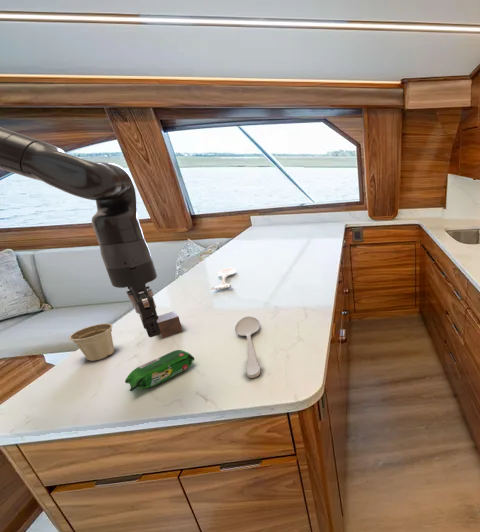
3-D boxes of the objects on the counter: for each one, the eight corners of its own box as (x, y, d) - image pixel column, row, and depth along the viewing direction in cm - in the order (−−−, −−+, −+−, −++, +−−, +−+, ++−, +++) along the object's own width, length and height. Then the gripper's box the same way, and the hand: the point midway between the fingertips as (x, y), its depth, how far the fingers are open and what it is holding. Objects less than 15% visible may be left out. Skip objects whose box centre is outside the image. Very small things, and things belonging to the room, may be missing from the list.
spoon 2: (211, 294, 135) (209, 287, 134) (219, 273, 163) (217, 267, 162) (233, 291, 139) (231, 284, 138) (237, 270, 167) (236, 264, 165)
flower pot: (76, 357, 92) (65, 333, 89) (116, 343, 99) (107, 320, 96) (83, 368, 87) (72, 343, 84) (125, 352, 94) (116, 328, 91)
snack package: (123, 389, 78) (116, 373, 76) (188, 357, 91) (183, 343, 89) (134, 400, 75) (128, 383, 73) (200, 365, 87) (196, 350, 85)
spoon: (235, 325, 108) (233, 319, 107) (259, 319, 112) (257, 313, 111) (239, 387, 80) (237, 379, 79) (271, 376, 83) (269, 369, 82)
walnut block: (162, 338, 101) (157, 322, 99) (158, 332, 105) (153, 317, 103) (182, 331, 106) (178, 316, 104) (178, 325, 109) (174, 311, 107)
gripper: (101, 259, 65) (126, 327, 71) (108, 273, 56) (136, 350, 61) (145, 251, 70) (165, 315, 76) (158, 263, 61) (180, 335, 67)
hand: (152, 331), depth 69 cm, fingers open, 4 cm apart
